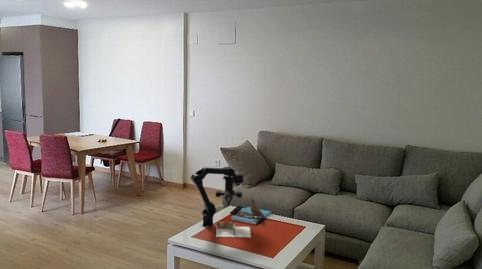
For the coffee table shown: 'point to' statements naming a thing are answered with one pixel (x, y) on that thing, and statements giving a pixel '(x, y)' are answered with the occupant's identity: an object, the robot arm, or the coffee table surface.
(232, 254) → the coffee table surface
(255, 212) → the worn brown figurine
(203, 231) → the coffee table surface
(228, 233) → the card
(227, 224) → the fence fixed section
